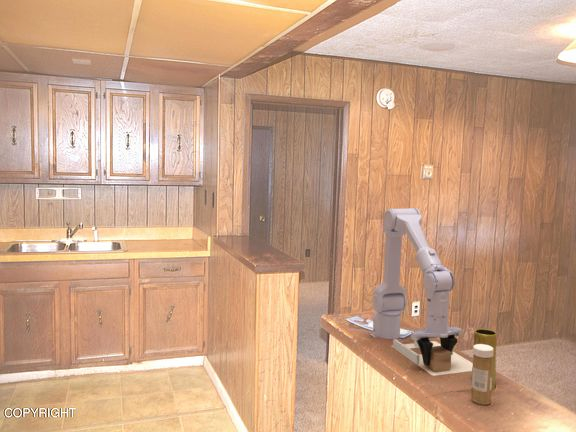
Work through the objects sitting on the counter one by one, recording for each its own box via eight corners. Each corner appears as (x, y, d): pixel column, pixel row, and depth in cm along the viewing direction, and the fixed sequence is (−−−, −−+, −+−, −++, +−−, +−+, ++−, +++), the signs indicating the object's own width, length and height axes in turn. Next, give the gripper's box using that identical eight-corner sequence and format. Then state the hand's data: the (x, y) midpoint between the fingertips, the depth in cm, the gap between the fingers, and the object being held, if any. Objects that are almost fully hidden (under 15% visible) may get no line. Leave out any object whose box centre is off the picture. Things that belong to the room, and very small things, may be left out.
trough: (393, 347, 153) (393, 339, 153) (416, 344, 155) (416, 337, 155) (416, 364, 140) (416, 355, 140) (441, 361, 142) (442, 352, 142)
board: (390, 350, 155) (390, 345, 154) (435, 345, 159) (435, 341, 159) (432, 381, 133) (432, 375, 132) (482, 374, 137) (483, 369, 137)
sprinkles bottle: (495, 402, 121) (497, 347, 120) (483, 407, 118) (485, 351, 117) (478, 395, 125) (481, 342, 123) (466, 399, 122) (469, 345, 121)
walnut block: (424, 365, 139) (424, 347, 139) (439, 363, 141) (440, 345, 140) (434, 372, 134) (434, 354, 134) (450, 370, 136) (451, 352, 135)
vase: (465, 382, 132) (467, 329, 130) (484, 379, 134) (486, 327, 133) (482, 392, 126) (484, 337, 125) (501, 389, 128) (504, 334, 127)
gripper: (421, 321, 131) (419, 371, 132) (469, 316, 135) (467, 365, 137) (407, 313, 138) (406, 361, 139) (453, 309, 142) (451, 356, 143)
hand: (435, 363), depth 138 cm, fingers closed on walnut block, 5 cm apart
